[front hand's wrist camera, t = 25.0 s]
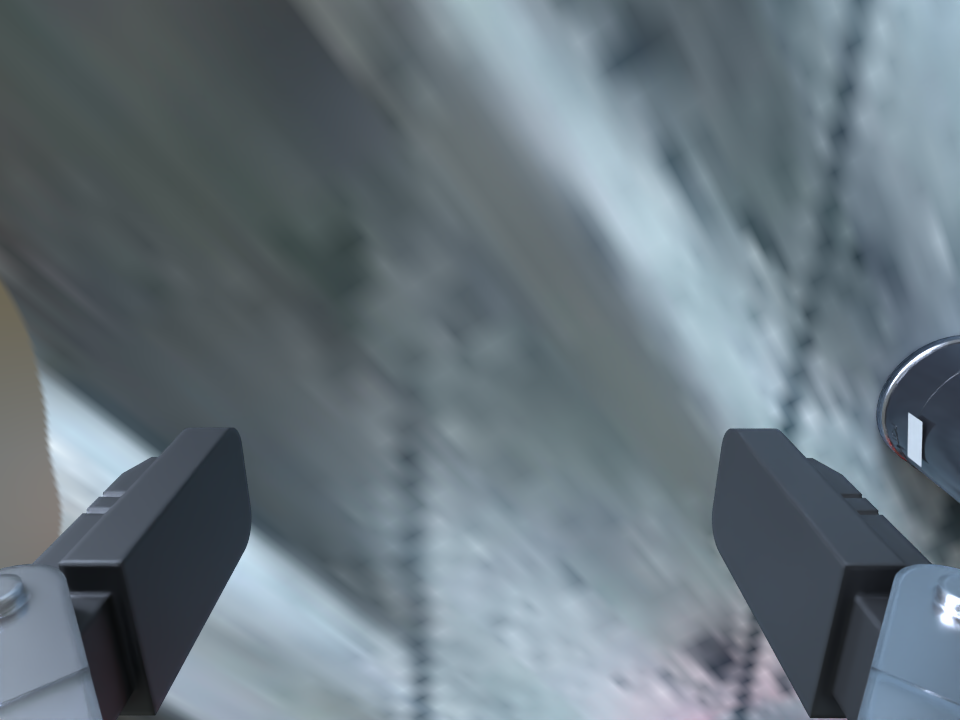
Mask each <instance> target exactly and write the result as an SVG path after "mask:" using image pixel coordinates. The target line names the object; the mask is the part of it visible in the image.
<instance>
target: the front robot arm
mask: <svg viewBox="0 0 960 720" xmlns="http://www.w3.org/2000/svg"><path fill="white" fill-rule="evenodd" d="M877 425H878V429H879V432H880V434H881V436H882V438H883V440H884V442H885V443H886V444H887V446H888V447H889V448H890V449H891V450H892V451H894V452H895V453H896V454H897V455H899V456H900V457H901V458H902V459H904V460H905V461H907V462H908V463H910V464H911V465H912V466H913V467H915V468H916V469H918V470H919V471H921V472H922V473H923V474H924V475H926V476H927V477H928V478H929V479H930V480H932V481H933V482H934V483H935V484H937V485H938V486H939V487H940V488H942V489H943V490H944V491H945V492H947V493H948V494H949V495H950V496H951V497H953V498H954V499H955V500H956V501H958V502H959V503H960V335H958V336H951V337H946V338H943V339H939V340H937V341H934V342H932V343H929V344H927V345H925V346H923V347H922V348H920V349H918V350H917V351H915V352H914V353H912V354H911V355H910V356H908V357H907V358H906V359H905V360H904V361H903V362H902V363H900V364H899V366H898V367H897V368H896V369H895V370H894V371H893V373H892V374H891V375H890V377H889V378H888V380H887V381H886V383H885V385H884V387H883V389H882V391H881V394H880V397H879V400H878V405H877ZM712 527H713V535H714V539H715V543H716V546H717V549H718V551H719V553H720V554H721V556H722V558H723V560H724V562H725V564H726V565H727V567H728V569H729V571H730V573H731V575H732V576H733V578H734V580H735V582H736V584H737V586H738V587H739V589H740V591H741V593H742V595H743V596H744V598H745V600H746V602H747V604H748V606H749V607H750V609H751V611H752V613H753V615H754V617H755V618H756V620H757V622H758V624H759V626H760V628H761V629H762V631H763V633H764V635H765V637H766V638H767V640H768V642H769V644H770V646H771V648H772V649H773V651H774V653H775V655H776V657H777V659H778V660H779V662H780V664H781V666H782V668H783V670H784V671H785V673H786V675H787V677H788V679H789V681H790V682H791V684H792V686H793V688H794V690H795V691H796V693H797V695H798V697H799V699H800V701H801V702H802V704H803V706H804V708H805V710H806V712H807V713H808V715H809V717H810V718H847V719H848V720H960V569H958V568H954V567H949V566H944V565H936V564H931V563H930V562H929V561H928V560H927V559H926V558H925V557H924V556H923V555H922V554H921V553H920V552H919V551H918V550H917V549H916V548H915V547H914V546H913V545H912V544H911V543H910V542H909V541H908V540H907V539H906V538H905V537H904V536H903V535H902V534H901V533H900V532H899V531H898V530H897V529H896V528H895V527H894V526H893V525H892V524H891V523H890V522H889V521H888V520H887V519H886V518H885V517H884V516H883V515H879V514H878V510H877V509H876V508H875V507H874V506H873V505H872V504H871V503H870V502H869V501H868V500H867V499H866V498H862V494H861V493H860V492H859V491H858V490H857V489H856V488H855V487H854V486H853V485H852V484H851V483H850V482H849V481H848V480H847V479H846V478H845V477H844V476H843V475H842V474H840V473H838V472H836V471H834V470H833V469H831V468H829V467H827V466H825V465H824V464H822V463H820V462H818V461H817V460H815V459H813V458H806V457H805V456H804V455H803V454H802V453H801V452H800V451H799V450H798V449H797V448H796V447H795V446H794V445H793V444H792V443H791V442H790V440H789V439H788V438H787V437H786V436H785V435H784V434H783V433H782V432H781V431H780V430H778V429H729V430H728V431H727V432H726V433H725V435H724V438H723V442H722V447H721V454H720V461H719V468H718V475H717V482H716V489H715V496H714V503H713V511H712ZM250 530H251V505H250V498H249V491H248V484H247V477H246V470H245V463H244V456H243V449H242V442H241V438H240V435H239V433H238V431H237V430H236V429H235V428H186V429H184V430H183V431H182V432H181V433H180V434H179V435H178V436H177V438H176V439H175V440H174V441H173V442H172V443H171V444H170V445H169V446H168V447H167V448H166V449H165V450H164V451H163V452H162V453H161V455H160V456H159V457H151V458H149V459H147V460H146V461H144V462H142V463H140V464H139V465H137V466H135V467H133V468H131V469H130V470H128V471H126V472H124V473H123V474H121V475H120V476H119V477H118V478H117V479H116V480H115V481H114V482H113V483H112V484H111V485H110V486H109V487H108V488H107V489H106V490H105V491H104V492H103V497H98V498H97V499H96V500H95V501H94V503H93V504H92V505H91V506H90V507H89V508H88V509H87V513H83V514H82V515H81V516H80V517H79V518H78V519H77V520H76V521H75V522H74V523H73V524H72V525H71V526H70V527H69V528H68V529H67V530H66V531H65V532H64V533H63V534H62V535H61V536H60V537H59V538H58V539H57V540H56V541H55V542H54V543H53V544H52V545H51V546H50V547H49V548H48V549H47V550H46V551H45V552H44V553H43V554H42V555H41V556H40V557H39V558H38V559H37V560H36V561H35V562H34V563H33V564H24V565H16V566H11V567H6V568H2V569H0V720H117V718H118V716H119V715H156V713H157V711H158V710H159V708H160V706H161V704H162V702H163V700H164V699H165V697H166V695H167V693H168V691H169V689H170V687H171V686H172V684H173V682H174V680H175V678H176V676H177V675H178V673H179V671H180V669H181V667H182V665H183V663H184V662H185V660H186V658H187V656H188V654H189V652H190V650H191V649H192V647H193V645H194V643H195V641H196V639H197V638H198V636H199V634H200V632H201V630H202V628H203V626H204V625H205V623H206V621H207V619H208V617H209V615H210V613H211V612H212V610H213V608H214V606H215V604H216V602H217V601H218V599H219V597H220V595H221V593H222V591H223V589H224V588H225V586H226V584H227V582H228V580H229V578H230V577H231V575H232V573H233V571H234V569H235V567H236V565H237V564H238V562H239V560H240V558H241V556H242V554H243V552H244V551H245V549H246V546H247V543H248V540H249V536H250Z"/></svg>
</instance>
